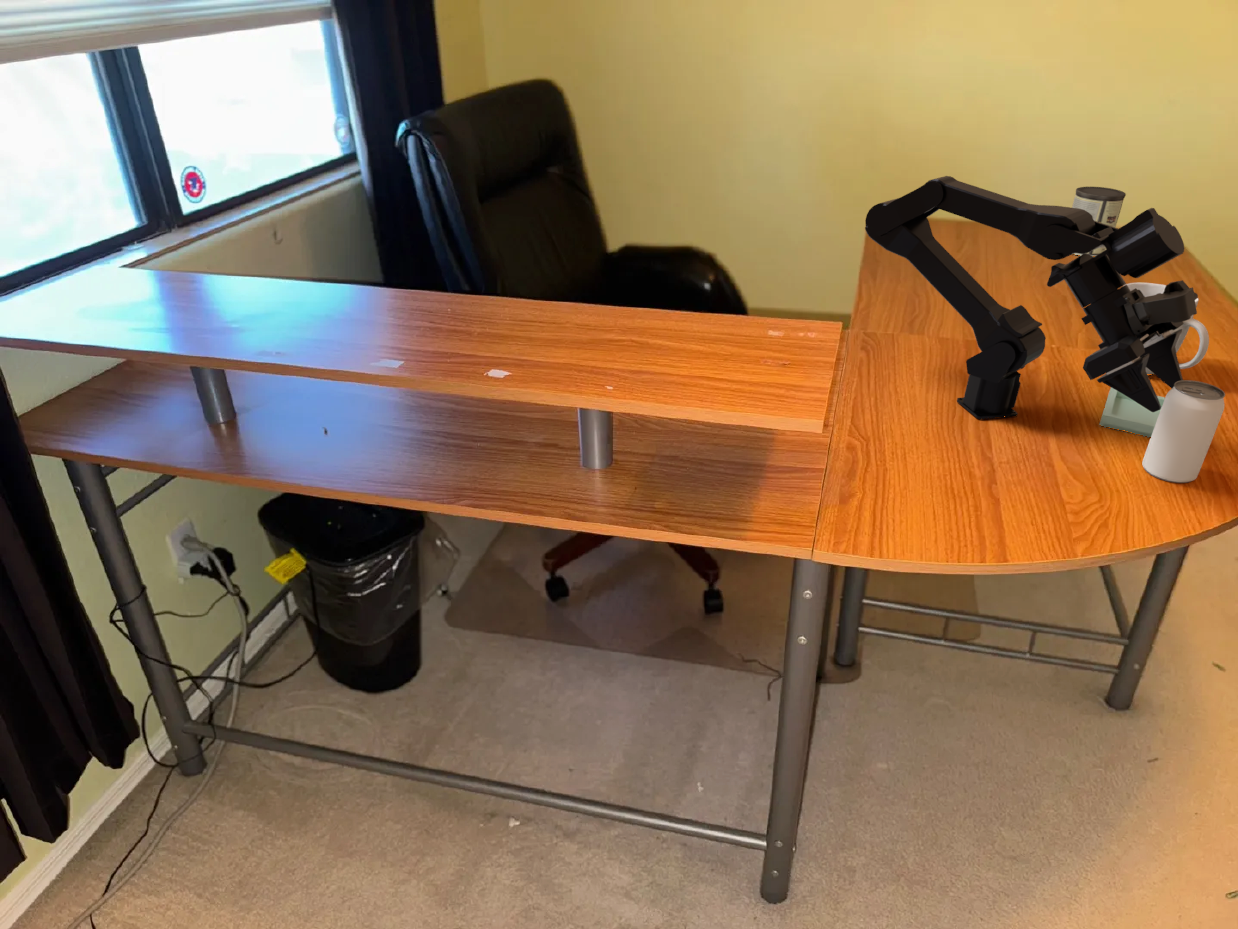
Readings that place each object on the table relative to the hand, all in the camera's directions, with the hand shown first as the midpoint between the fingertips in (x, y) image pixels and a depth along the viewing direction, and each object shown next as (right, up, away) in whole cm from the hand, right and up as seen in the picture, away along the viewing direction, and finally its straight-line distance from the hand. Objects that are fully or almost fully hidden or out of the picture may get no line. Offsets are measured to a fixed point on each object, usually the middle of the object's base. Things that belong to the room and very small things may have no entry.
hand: (1169, 400), depth 113 cm
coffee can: (+39, +42, +95) cm, 111 cm away
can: (+2, -9, +3) cm, 10 cm away
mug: (+16, +7, +33) cm, 37 cm away
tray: (+7, -2, +16) cm, 18 cm away
